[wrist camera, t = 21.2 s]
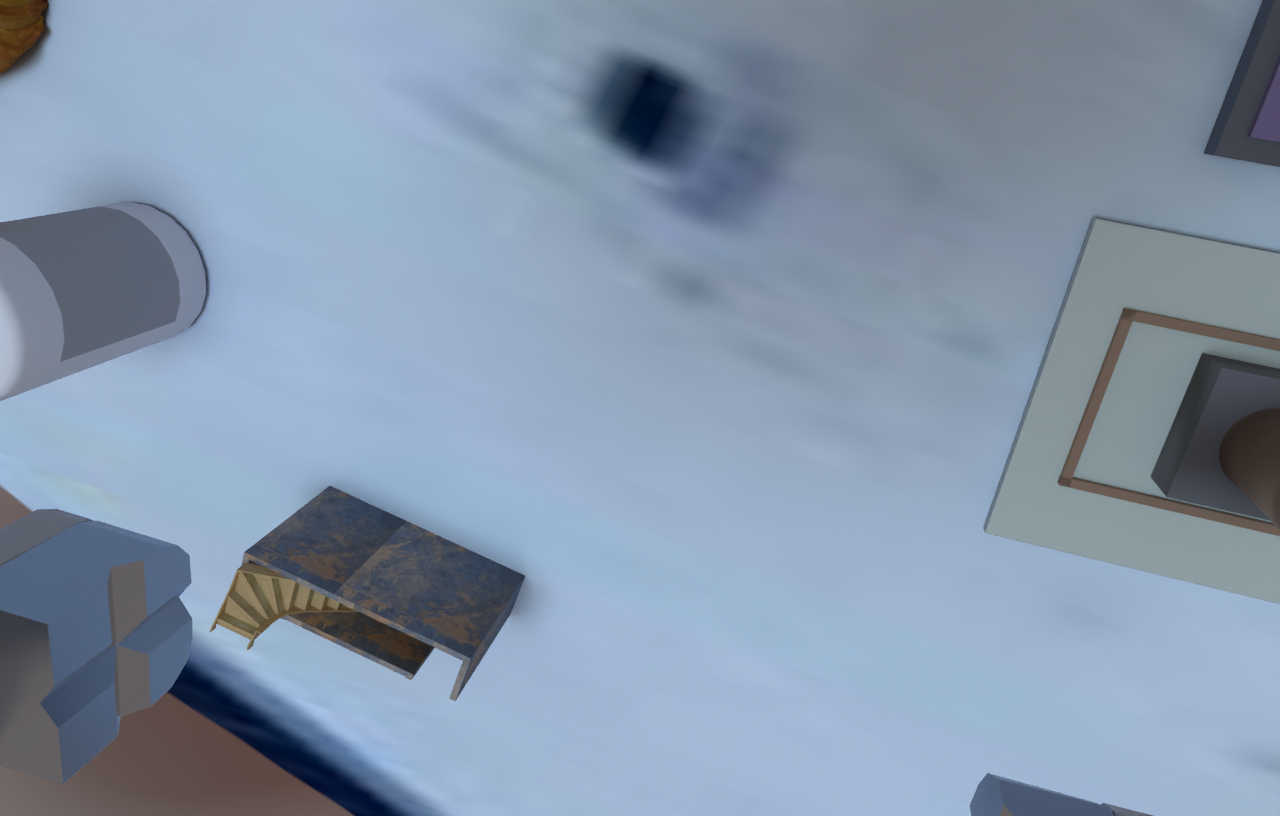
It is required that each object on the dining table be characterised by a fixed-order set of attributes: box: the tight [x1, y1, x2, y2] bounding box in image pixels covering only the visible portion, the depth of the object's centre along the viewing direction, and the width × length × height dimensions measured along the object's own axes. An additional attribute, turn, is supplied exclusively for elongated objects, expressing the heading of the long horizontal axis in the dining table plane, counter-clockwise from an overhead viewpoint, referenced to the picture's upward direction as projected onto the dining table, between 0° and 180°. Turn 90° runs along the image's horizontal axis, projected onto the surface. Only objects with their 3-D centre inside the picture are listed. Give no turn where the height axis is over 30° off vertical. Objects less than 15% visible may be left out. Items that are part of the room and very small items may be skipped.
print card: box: [984, 217, 1280, 604], centre depth 36 cm, size 14×16×1 cm
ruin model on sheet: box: [210, 486, 525, 701], centre depth 43 cm, size 11×3×10 cm, turn 69°
